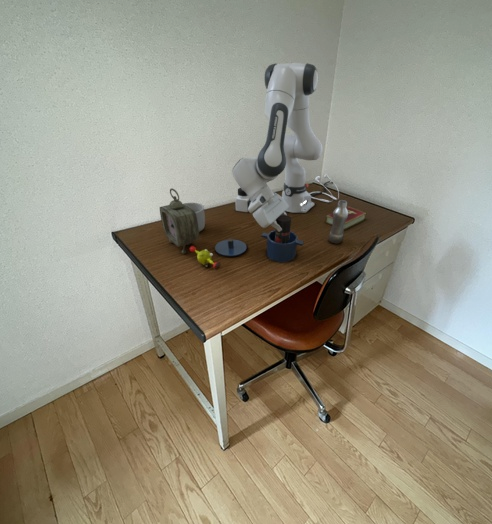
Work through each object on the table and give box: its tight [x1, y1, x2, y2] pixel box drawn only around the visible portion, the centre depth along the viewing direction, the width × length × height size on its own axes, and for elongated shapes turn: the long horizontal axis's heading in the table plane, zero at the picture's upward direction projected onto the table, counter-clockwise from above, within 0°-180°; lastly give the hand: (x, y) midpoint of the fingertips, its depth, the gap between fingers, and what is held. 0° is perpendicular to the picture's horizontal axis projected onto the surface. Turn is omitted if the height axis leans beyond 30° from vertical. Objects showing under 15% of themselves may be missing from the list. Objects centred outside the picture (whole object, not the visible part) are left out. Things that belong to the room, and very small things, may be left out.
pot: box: [260, 229, 305, 263], centre depth 112 cm, size 12×18×8 cm
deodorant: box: [275, 215, 292, 243], centre depth 109 cm, size 6×6×15 cm
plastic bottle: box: [328, 199, 348, 245], centre depth 121 cm, size 6×7×20 cm
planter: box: [182, 202, 206, 233], centre depth 124 cm, size 12×12×11 cm
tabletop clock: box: [159, 188, 200, 255], centre depth 107 cm, size 14×9×25 cm, turn 45°
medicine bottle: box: [234, 187, 251, 213], centre depth 146 cm, size 7×7×12 cm
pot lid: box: [214, 238, 248, 257], centre depth 113 cm, size 13×13×5 cm
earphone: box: [308, 173, 340, 204], centre depth 172 cm, size 14×17×18 cm
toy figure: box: [188, 245, 221, 270], centre depth 101 cm, size 18×6×7 cm, turn 48°
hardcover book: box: [325, 206, 367, 231], centre depth 145 cm, size 12×21×4 cm, turn 136°
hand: (284, 226), depth 107 cm, fingers closed on deodorant, 6 cm apart
